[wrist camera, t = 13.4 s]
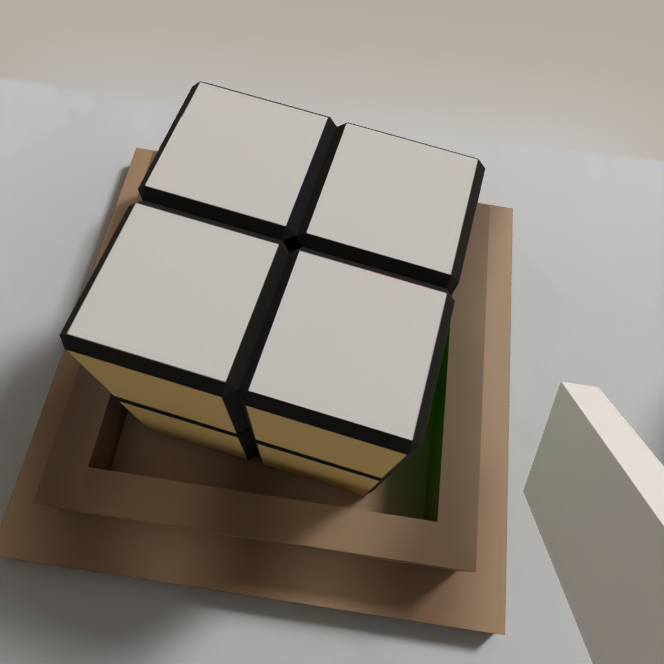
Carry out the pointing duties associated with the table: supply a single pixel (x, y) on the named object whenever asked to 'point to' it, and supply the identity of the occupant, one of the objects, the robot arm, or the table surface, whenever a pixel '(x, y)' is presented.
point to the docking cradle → (291, 484)
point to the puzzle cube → (282, 288)
